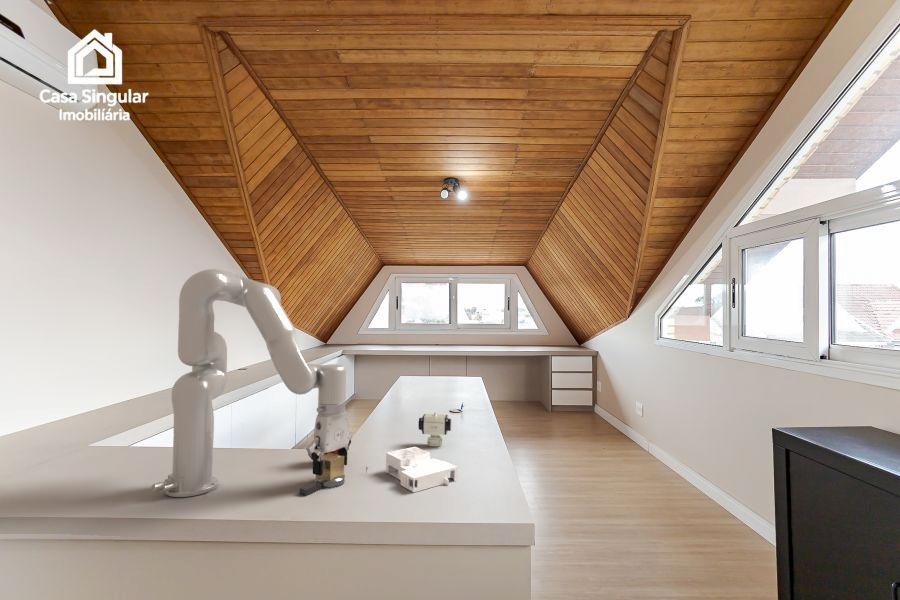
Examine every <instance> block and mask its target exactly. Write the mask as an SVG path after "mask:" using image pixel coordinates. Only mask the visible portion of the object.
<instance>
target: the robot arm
mask: <svg viewBox="0 0 900 600" xmlns="http://www.w3.org/2000/svg"><path fill="white" fill-rule="evenodd" d="M215 301H216V302H217V301H220V302H228V303H230V304H235V305H237V306H241V307H242V308H243V307H244V308H246V310H247V312H248V314H249V315H250V317H251V319H252V321H253V322H254V324H255V326H256V327H257V329H258V331H259V333H260V335H261V337H262V338H263V340H264V342H265V344H266V349H267V351H268V353H269V356H270V358H271V362H272V363H273V366H274V368H275V370H276V371H277V373H278V375H279V377H280V379H281V380H282V381H283V383H284V385H285V387H286V388H287V389H288V390H289V391H290V392H291V393H292V394H295V395H300V396H301V395H306V394H307V393H309V392H311V391H312V390H314V389H318V393H317V394H318V396H317V397H318V398H317V400H318V401H317V407H316V412H317V415H316V418H315V423H314V429H313V430H314V431H313V439H312V441H311V442H310V443H309V444H308V445H306V449H305V450H306V451H307V454H308V456H309V458H310V460H311V461H312V474H313V475H315V476H316V475H319V476H321V475H322V474H323V461H322V460H321V459H322V457H323V455H324V453H329V452H332V451H335V450H338V449H340V450H338V455H342V456H344V466H347V465H348V451H349V450H350V445H351V443H352V439H353V436H354V433H353V432H352V431H350V424H349V423H350V422H349V416H348V412H347V411H346V390H347V389H346V388H347V386H346V385H347V382H346V381H347V369H346V366H344V365H342V364H324V365H323V364H317V363H316V364H315V363H306V361H305V359H304V357H303V356H302V355H303V354H301V351H300V349H299V346H298V344H297V340H296V330H295V327H294V325H293V323H292V321H291V319H290V318H289V315H288V314H287V313H286V311H285V309H284V308H283V306H282V304H281V302H282V296H281V294H280V291H279V290H278V289H277V287H275V286H274V285H271V284H268V283H263V282H260V281H258V280H257V281H256V280H253V279H250V278H247V277H244V276H241V275H238V274H235V273H232V272H228V271H225V270H222V269H217V268H208V269H203V270H201V271H198V272H196V273H194V274H192V275H191V276H190V277H189V278H187V279H186V281H185V282H184V283H183V285H182V287H181V289H180V291H179V299H178V330H177V331H178V334H177V335H178V337H177V340H178V341H177V355H178V358H179V360H180V362H181V363H182V364H184V365H186V366H189V367H191V371H189V372H187V373H184V374H183V375H181V376H179V378H177V380H176V381H175V382H174V384H173V386H172V388H171V389H172V390H171V404H172V411H173V440H172V441H173V444H172V445H173V447H172V467H171V469H172V472H171V474H170V473H169V474H168V475H167V478H165V479H164V481H161V482H160V481H159V482H157V483H153V484H152V485H151V491H152V492H154V493H155V492H157V491H161V490H162V491H163V492H164V494H165V496H168V497H172V498H173V497H174V498H185V497H186V498H187V497H194V496H200V495H203V494H205V493H208V492H211V491H212V490H215V489H216V488H217V487H218V486H219V479H218V478H217V477H215V476H213V465H214V464H213V463H214V436H215V435H214V432H215V413H214V408H213V400H215V399H216V398H218V397H220V396H221V395H222V393H224V391H225V389H226V386H227V379H228V378H227V377H228V376H227V374H228V373H227V371H228V347H227V342H226V340H225V338H224V337H223V336H222V335H221V334H220V333H218V332H217V331H215V311H214V306H213V305H214V303H215Z"/></svg>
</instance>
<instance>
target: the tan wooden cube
mask: <svg viewBox="0 0 900 600" xmlns="http://www.w3.org/2000/svg"><path fill="white" fill-rule="evenodd" d="M321 460H322V461H323V474H322V475H321V476H319V475H315V478H319V479H322V480H326V481H333V480H335V479H337V478H339V477H342V476H344V475H345V465H344V456H342V455H337V454H333V453H329V454H326V455H323V457H322V459H321Z"/></svg>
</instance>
